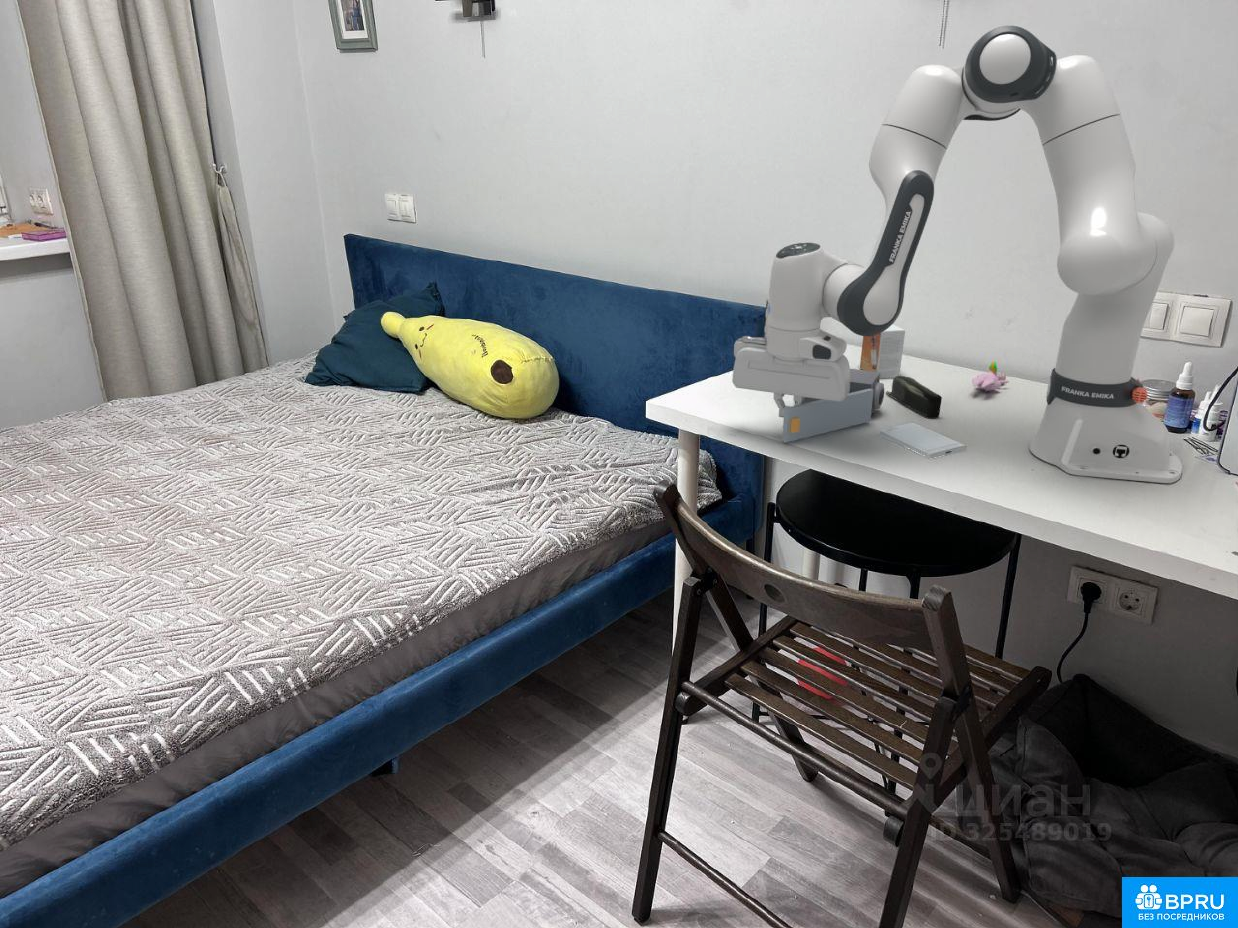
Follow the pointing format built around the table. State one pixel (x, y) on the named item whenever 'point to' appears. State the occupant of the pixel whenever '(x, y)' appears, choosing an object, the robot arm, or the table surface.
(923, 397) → the dark green rounded block
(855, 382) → the box
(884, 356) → the small box
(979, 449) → the table surface
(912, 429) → the hard drive
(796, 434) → the side door
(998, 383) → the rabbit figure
